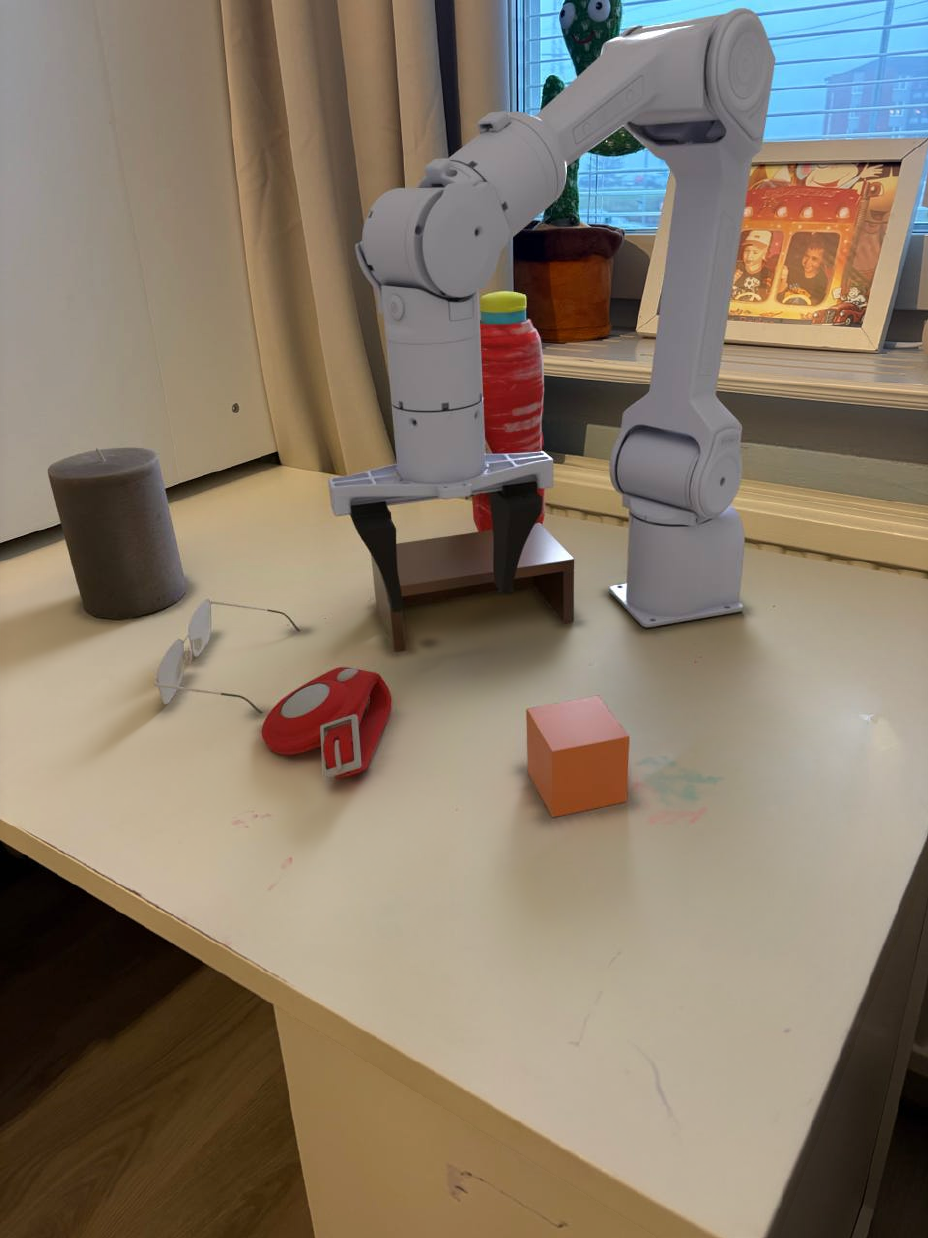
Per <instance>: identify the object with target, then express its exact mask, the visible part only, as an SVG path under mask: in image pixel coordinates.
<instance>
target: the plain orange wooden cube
mask: <svg viewBox="0 0 928 1238" xmlns="http://www.w3.org/2000/svg"><path fill="white" fill-rule="evenodd" d="M525 715H526V716H525V717H526V718H525V719H526V720H525V721H526V723H525V724H526V760H527V761H526V763H527V773H528V775H529V777H530V779H531V780H532V782H533V784H534V786H535V788H536V790H537V792H538V793H539V795H540V797H541V799H542V801H543V803H544V804H545V806H546V808H547V810H548V812H549V814H550V815H551V818H556V817H561V816H567V815H571V814H575V813H580V812H585V811H590V810H594V809H599V808H604V807H608V806H613V805H617V804H622V803H625V802H628V785H629V761H630V759H629V757H630V739H631V738H630V735H629V734H628V732H627V731H626V730H625V729H624V727H623V726H622V724H621V723H620V722H619V720H618V718H616V716H615V715H614V713H613V712H612V711H611V710H610V708H609V707H608V706H607V704H606V703H605V702H604V701H603V699H602V698H601V697H600V695H599V694H598V695H592V696H587V697H581V698H576V699H571V700H566V701H565V700H564V701H560V702H555V703H550V704H544V705H537V706H532V707H527V708H526V710H525Z"/></svg>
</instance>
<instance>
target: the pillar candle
mask: <svg viewBox="0 0 928 1238" xmlns="http://www.w3.org/2000/svg"><path fill="white" fill-rule="evenodd" d="M47 475H48V480H49V484H50V488H51V491H52V495H53V499H54V503H55V507H56V510H57V514H58V518H59V523H60V525H61V529H62V532H63V536H64V540H65V545H66V549H67V551H68V555H69V556H68V557H69V559H70V563H71V566H72V571H73V574H74V578H75V582H76V585H77V587H78V592H79V595H80V598H81V602H82V605H83V608H84V610H85V612H86V613H87V614H89V615H91V616H94V617H97V618H103V619H110V620H111V619H114V620H119V619H122V620H123V619H124V620H126V619H127V620H128V619H132V618H136V617H141V616H145V615H149V614H152V613H155V612H158V611H161V610H163V609H165V608H168V607H170V606H172V605H174V604H175V603H177V602H178V601H179V600H180V599H182V597H183V596H184V595H185V593H186V591H187V584H186V578H185V574H184V570H183V564H182V560H181V556H180V552H179V547H178V543H177V536H176V533H175V528H174V523H173V519H172V514H171V509H170V505H169V500H168V496H167V492H166V486H165V483H164V479H163V474H162V469H161V463H160V459H159V452H158V451H156V450H154V449H148V448H144V447H133V446H132V447H112V448H102V449H99V447H96V448H95V449H91V450H88V451H84V452H82V453H77V454H74V455H70V456H67V457H65V458H62V459H59V460H58V461H56V462H54V463H52V464H50V465H49V466H48V468H47Z"/></svg>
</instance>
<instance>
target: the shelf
mask: <svg viewBox="0 0 928 1238" xmlns="http://www.w3.org/2000/svg"><path fill="white" fill-rule="evenodd" d="M396 549H397V569H398V576H399V582H400V588H401V594H402V600H403V607H408V606H414V605H420V604H421V605H422V604H426V603H434V602H439V601H445V600H446V601H447V600H452V599H459V598H466V597H471V596H477V595H484V594H489V593H490V594H491V593H496V592H500V590H499V589H498V588H497V586H496V585H495V581H494V572H493V530H487V531H480V532H478V531H473V532H467V533H460V534H454V535H447V536H440V537H439V536H438V537H434V538H433V537H432V538H426V539H419V540H411V541H405V542H397V543H396ZM370 558H371V569H372V576H373V577H372V578H373V585H374V586H373V587H374V595H375V604H376V609H377V612H378V615H379V617H380V619H381V622H382V624H383V627H384V629H385V633H386V634H387V637H388V640H389V642H390V644H391V647H392V650H393V652H394V653H398V652H404V651H406V650H407V646H406V638H405V626H404V625H405V624H404V616H403V615H404V614H403V611H400V612H392V610H391V607H390V605H389V602H388V599H387V593H386V589H385V585H384V582H383V578H382V576H381V573H380V570H379V568H378V566H377V564H376V562H375V560H374V558H373V557H372V555H371V554H370ZM526 587H527V588H528V587H534V588H535V589H536V591H537V592H538V593H539V595H540V596H541V597H542V598H543V599H544V601H545V602H546V603H547V604H548V606H549V607H550V608H551V610H552V612H554V613H555V614H556V616H557V617H558V618H559V620H560V621H561V623H563V624H567V623H568V624H569V623H573V622H574V621H575V618H574V617H575V558H574V557H573V556H572V555H571V554H570V553H569V552H568V551H567V550H566V548H565V547H564V546H562V544H561V543H560V542H559V541H558V540H557V539H556V538H555V537H554V536H553V535H552V534H551V533H550V532H549V531H548V529H546V528H545V526H544V525H543V524H542V525H541V523H536V524H534V526H533V528H532V530H531V532H530V534H529V536H528V538H527V540H526V543H525V545H524V548H523V550H522V553H521V556H520V559H519V563H518V566H517V570H516V574H515V578H514V583H513V590H514V589H515V590H516V589H521V588H526Z"/></svg>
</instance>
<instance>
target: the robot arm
mask: <svg viewBox="0 0 928 1238" xmlns="http://www.w3.org/2000/svg"><path fill="white" fill-rule="evenodd" d="M775 65H776V55H775V54H774V51H773V48H772V46H771V43H770V40H769V37H768V35H767V32H766V29H765V27H764V25H763V23H762V21H761V19H760V17H759V15H757V13H755V12H754V11H753V10H751V9H750V8H746V7H739V8H734V9H733V10H730V11H728V12H726V13H721V14H715V15H709V16H703V17H698V18H692V19H685V20H680V21H672V22H665V23H661V24H655V25H649V26H648V25H639V24H637V25H632V26H630V27H628V28H626V29H624V30H623V31H622V32H621V33H620V34H619V35H618V36H616V37H613V38H611V39H610V40H607V41H606V42H604V43H603V44H602V47H601V52H600V55H599V56H598V57H597V58H596V59H595V60H594V61H593V62H592V63H591V64H590V65H588V67H586V68H585V69H584V70H583V71H582V72H581V73H580V74H579V75H578V76H577V77H575V78H574V79H573V81H571V82H570V83H569V84H568V85H567V86H566V87H565V88H564V89H562V90H561V91H560V92H559V93H558V94H557V95H556V96H555V97H554V98H552V100H551V101H550V102H548V103H547V104H546V105H545V106H544V107H543V108H542V109H540V111H538V112H537V113H536V115H532V114H529V113H527V112H524V111H523V112H522V111H510V112H508V111H507V110H502V111H501V110H500V111H492V112H490V111H489V112H488V113H487V114H486V115H484V116H483V117H482V118H480V120H478V121H477V128H478V131H479V134H477V135H476V136H475V137H474V138H472V139H471V140H469V141H468V142H467V143H466V144H465V145H463V146H462V147H461V148H460V149H458V150H456V151H455V152H454V153H453V154H452V155H450V156H449V157H448V158H446V157H445V158H443V157H442V158H441V157H440V158H434V159H433V160H432V161H430V162H429V163H427V164H426V165H425V166H424V174H425V175H424V176H423V178H422V179H420V181H419V183H418V185H417V187H398V188H397V187H396V188H393V189H389V190H388V191H386V192H384V193H383V194H381V195H380V196H379V197H378V198H377V199H376V200H375V201H374V203H373V204H372V205H371V207H370V209H369V212H368V214H367V216H366V218H365V220H364V224H363V227H362V234H361V241H359V242H357V243H356V244H355V245H354V248H355V249H354V250H355V253H356V258H357V261H358V265H359V267H360V270H361V271H362V273H363V275H364V276H365V278H366V279H367V280H368V282H369V283H370V285H372V287H373V290H374V291H375V295H376V299H377V310H378V311H377V312H378V314H380V315H382V319H383V324H384V335H385V345H386V346H385V347H386V356H387V367H388V368H387V369H388V379H389V391H390V402H391V413H392V425H393V437H394V438H393V439H394V448H395V457H396V458H395V459H396V463H394V464H389V465H385V466H382V467H378V468H372V469H369V470H365V471H362V472H357V473H352V474H348V475H342V476H336V477H330V478H327V484H328V485H327V486H328V491H329V500H330V507H331V510H332V513H333V516H334V517H342V516H343V517H344V516H350V519H351V521H352V524H353V526H354V529H355V530H356V532H357V534H358V535H359V538H360V540H361V541H362V542H363V543H364V545H365V546H366V548H367V550H368V551H369V553H370V556H371V555H372V557H373V558H374V560H375V562H376V564H377V566H378V568H379V570H380V573H381V576H382V578H383V582H384V585H385V589H386V593H387V599H388V602H389V605H390V607H391V610H392V612H400V611H402V612H403V611H404V606H403V600H402V594H401V588H400V582H399V576H398V569H397V549H396V544H397V527H396V526H395V524H394V521H393V519H392V512H391V511H390V509H389V506H390V507H391V506H397V505H405V504H413V503H419V502H426V501H434V500H453V499H461V498H465V497H467V496H470V495H472V494H480V493H487V492H488V494H489V501H490V509H491V517H492V526H493V572H494V581H495V585H496V586H497V588H498V589H499V590H500V591H499V593H501V595H502V596H507V595H512V594H513V590H514V589H513V583H514V578H515V574H516V570H517V566H518V563H519V559H520V556H521V553H522V550H523V548H524V545H525V543H526V540H527V538H528V536H529V534H530V532H531V530H532V528H533V526H534V524H535V523H536V521H537V519H538V518H539V516H540V515H541V512H542V507H543V498H542V496H541V495H540V494H539V493H538V492H537V488H538V489H544V488H545V489H550V488H554V459H553V457H551V456H549V455H548V454H547V453H546V452H545V451H543V450H542V452H533V453H515V454H485V430H484V406H483V386H482V362H481V338H480V320H481V311H480V290H483V289H486V288H487V286H488V285H489V283H490V282H491V281H492V279H493V277H494V275H495V272H496V270H497V267H498V265H499V260H500V255H501V252H503V249H504V248H505V247H506V246H507V245H508V244H509V242H510V240H511V239H513V238H514V237H516V235H517V234H519V233H520V232H521V231H522V230H523V229H524V228H526V227H527V226H528V225H529V224H531V222H532V221H534V220H535V219H536V218H537V217H538V216H540V215H541V214H542V213H543V212H545V211H546V210H547V209H548V208H549V207H550V206H551V205H553V204H554V203H555V202H556V201H557V200H558V199H559V198H560V197H561V195H562V194H563V192H564V189H565V186H566V181H567V167H568V166H569V165H571V164H573V163H574V162H575V161H576V160H578V159H579V158H581V157H582V156H583V155H585V154H586V153H587V152H589V151H590V150H592V149H593V148H595V147H596V146H597V145H599V144H600V143H602V142H603V141H604V140H606V139H607V138H608V137H610V136H611V135H613V134H614V133H616V132H617V131H618V130H619V129H621V128H622V127H623V128H625V130H626V131H627V132H629V134H631V135H632V136H633V138H635V139H636V140H637V141H638V142H639V143H640V144H641V145H642V146H643V147H644V148H645V149H646V150H647V151H649V152H650V153H651V154H652V155H653V156H654V157H655V158H657V159H660V160H662V161H664V162H665V164H666V166H667V167H668V169H669V170H670V172H671V174H672V175H673V177H674V179H675V186H674V195H673V203H672V211H671V218H670V225H669V234H668V242H667V249H666V258H665V265H664V272H663V280H662V288H661V289H662V290H661V295H660V305H659V312H658V320H657V328H656V335H655V342H654V350H653V360H652V366H651V374H650V383H649V389H648V392H647V393H646V394H645V395H644V396H643V397H641V398H639V400H637V401H636V402H634V403H633V404H632V405H630V406H629V407H628V408H626V409H625V410H624V411H623V412H622V417H621V425H620V430H619V433H618V436H617V439H616V442H615V443H614V445H613V448H612V450H611V453H610V457H609V466H608V467H609V468H608V470H609V480H610V482H611V485H612V487H613V489H614V490H615V491H616V492H617V493H618V494H619V495H621V496H622V499H621V506H622V507H623V508H626V509H628V510H629V511H628V533H627V557H626V558H627V561H626V583H621V584H615V585H611V586H609V594H611V595H612V596H613V597H614V598H615V599H616V600H617V602H619V603H620V604H621V606H623V608H624V609H625V610H626V611H627V612H628V614H630V615H631V616H632V617H633V618H634V619H635V620H636V621H637V622H638V623H639V625H641V627H643V628H654V627H659V626H665V625H671V624H676V623H683V622H688V621H694V620H699V619H706V618H711V617H716V616H723V615H728V614H734V613H739V612H742V611H743V610H744V605H743V604H742V603H741V602H740V595H741V586H742V574H743V565H744V556H745V545H746V544H745V543H746V540H745V530H744V529H745V528H744V524H743V521H742V518H741V516H740V514H739V512H738V511H737V509H736V508H735V507H734V506H733V505H732V503H733V502H734V500H735V498H736V497H737V494H738V493H739V490H740V487H741V483H742V479H743V461H742V454H741V442H742V432H743V426H742V424H741V422H739V420H738V419H737V418H736V417H735V416H734V414H732V413H731V411H729V409H727V407H726V406H725V405H724V404H723V403H722V402H721V401H720V399H719V398H718V396H717V390H718V383H719V377H720V376H719V375H720V369H721V363H722V358H723V350H724V345H725V337H726V331H727V325H728V318H729V313H730V305H731V298H732V293H733V287H734V280H735V274H736V266H737V261H738V253H739V247H740V243H741V242H740V241H741V236H742V228H743V222H744V215H745V208H746V202H747V196H748V189H749V183H750V177H751V170H752V164H753V158H754V157H755V156H756V155H758V154H759V153H760V152H761V151H762V148H763V140H764V136H765V135H764V134H765V129H766V123H767V118H768V117H767V116H768V110H769V104H770V98H771V91H772V86H773V80H774V79H773V78H774V72H775Z"/></svg>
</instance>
